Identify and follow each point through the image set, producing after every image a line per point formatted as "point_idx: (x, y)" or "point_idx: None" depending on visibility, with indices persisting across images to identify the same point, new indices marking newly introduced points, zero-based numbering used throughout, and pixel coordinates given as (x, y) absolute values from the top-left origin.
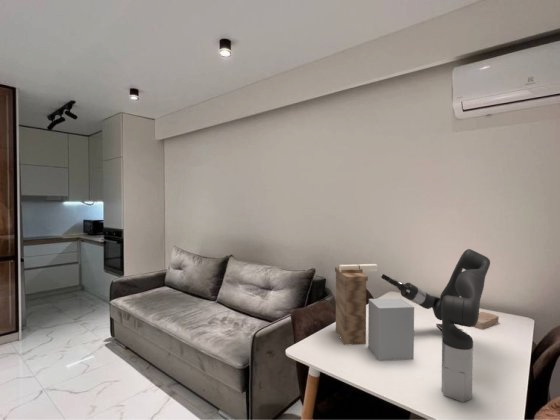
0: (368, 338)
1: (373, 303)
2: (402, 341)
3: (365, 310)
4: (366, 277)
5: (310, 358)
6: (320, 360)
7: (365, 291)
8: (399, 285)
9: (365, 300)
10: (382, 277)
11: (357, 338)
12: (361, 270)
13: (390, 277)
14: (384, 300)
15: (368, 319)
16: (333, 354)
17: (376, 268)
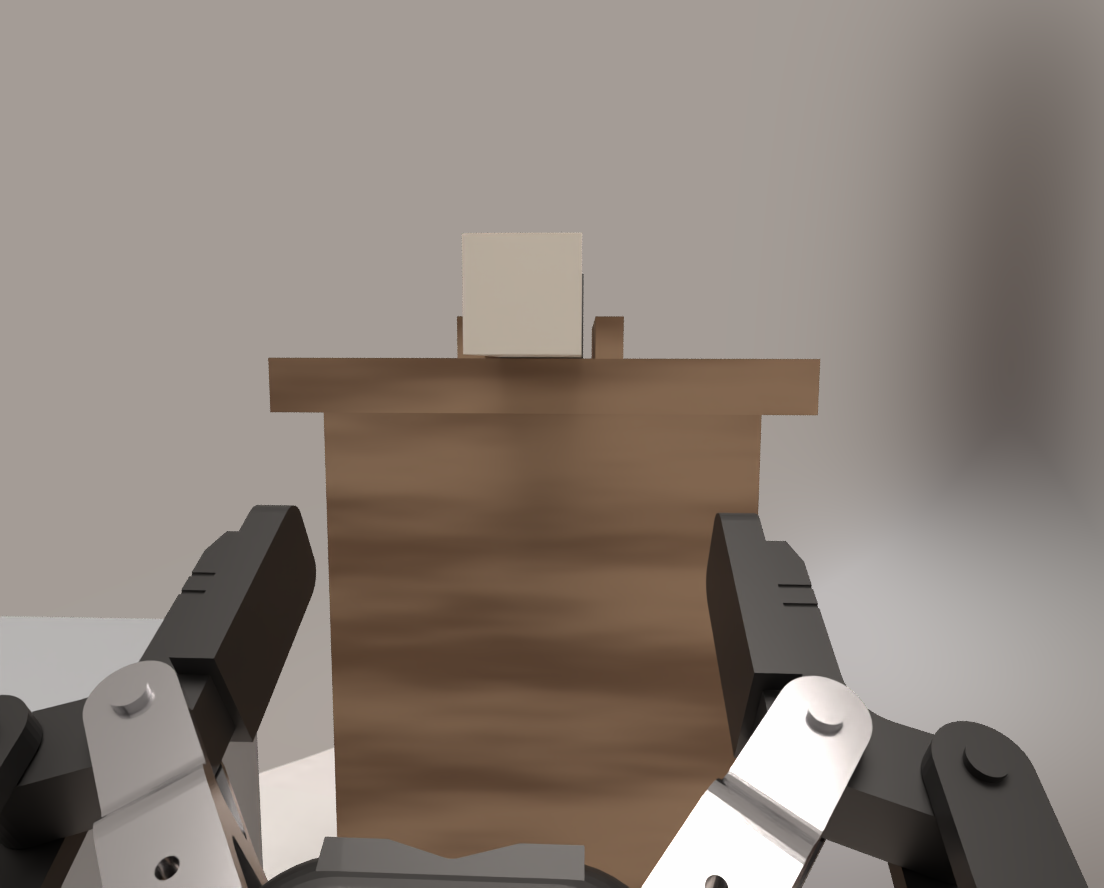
0: None
1: (102, 619)
2: None
3: (338, 774)
4: (275, 370)
5: (326, 763)
6: (282, 790)
7: (331, 555)
8: (42, 733)
9: (334, 660)
10: (708, 582)
11: None
12: (458, 328)
13: (806, 700)
14: (68, 691)
15: (260, 847)
16: (308, 851)
17: (465, 296)
